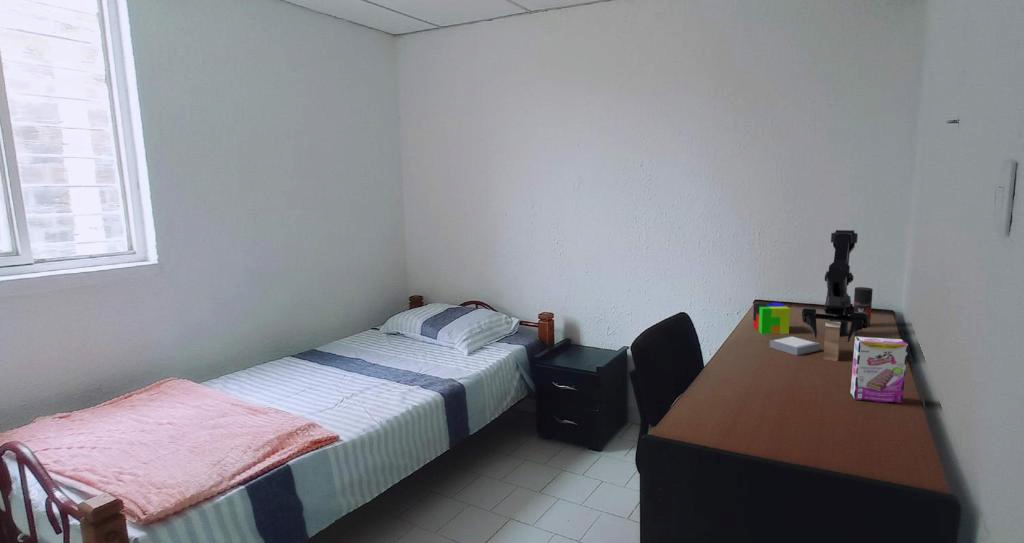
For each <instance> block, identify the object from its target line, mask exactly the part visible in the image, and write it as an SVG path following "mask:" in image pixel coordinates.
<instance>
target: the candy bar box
mask: <svg viewBox="0 0 1024 543" xmlns="http://www.w3.org/2000/svg"><path fill="white" fill-rule="evenodd" d="M908 349H909V344H908V342H906V341H905V340H903V339H901V338H900V339H899V338H884V337H883V338H882V337H871V336H869V337H867V336H854V345H853V355H852V356H853V357H852V371H851V380H850V381H851V382H850V383H851V384H850V395H851V397H853V399H854V400H855V401H856V400H857V401H866V402H867V401H868V402H876V403H877V402H878V403H888V402H902V403H903V400H904V391H905V388H904V387H905V380H906V371H907V370H906V369H907V359H908V351H909V350H908Z"/></svg>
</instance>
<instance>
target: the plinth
mask: <svg viewBox="0 0 1024 543" xmlns="http://www.w3.org/2000/svg"><path fill="white" fill-rule="evenodd" d="M820 344H821V343H819V342H815V341H812V340H808V339H803V338H800V337H797V336H793V335H791V336H786V337H781V338H776V339H770V340H769V348H770V349H774V350H777V351H780V352H781V351H782V352H784V353H788V354H791V355H794V356H800V355H806V354H809V353H814V352H815V353H816V352H818V351H820V347H821V346H820Z"/></svg>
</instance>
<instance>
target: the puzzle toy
mask: <svg viewBox="0 0 1024 543" xmlns="http://www.w3.org/2000/svg"><path fill="white" fill-rule="evenodd" d="M752 313H753V314H752V315H753V317H752V318H753V319H752V328H753V327H754V328H753V329H754V330H756V331H757V330H758V331H759V332H758V331H757V332H758V333H760V334H761V335H789V334H790V320H791V319H790V316H791V315H790V314H791V308H790V307H788V306H786V305H785V304H783V303H781V302H758V303H757V302H756V303H755V302H754V303H753V312H752Z"/></svg>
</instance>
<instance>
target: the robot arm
mask: <svg viewBox="0 0 1024 543" xmlns="http://www.w3.org/2000/svg"><path fill="white" fill-rule="evenodd" d="M858 238H859V233H858V232H855V230H854V229H853V230H851V229H847V230H846V229H841V230H840V229H836V230H835V232H831V234H830V243H832V246H833V248H834V257H833V262H832V263H830V264H829V266H828V270H827V271H826V272H825V274H824V282H826V288H827V291H826V292H827V293H826V298H825V303H824V309H823V310H824V312H817V308H813V307H804V308H802V309H801V320H802V323H805V324H806V325H808V326H810V328H811V330H812V332H813V336H814V339H815V340H816V339H817V338H818V331H817V319H818V320H826V321H832V322H841V325H840V337H844V336H847V342H848V343H850V341H851V340H852V338H854V337H855V336H854V335H855V334H856V333H857V332H858V331H862V330H863V329H868V327H867V324H868V314H867V313H863V312H855V308H854V303H852V300H851V296H850V295H849V294H848V286H849V284H851V283H852V282H853V281H854V279H855V278H854V275H853V273H852V272H851V268H850V267H851V266H850V256H851V255H850V254H852V252H853V251H854V249H855V248H856V244H858ZM849 323H850V328H849ZM848 330H849V331H848Z"/></svg>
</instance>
